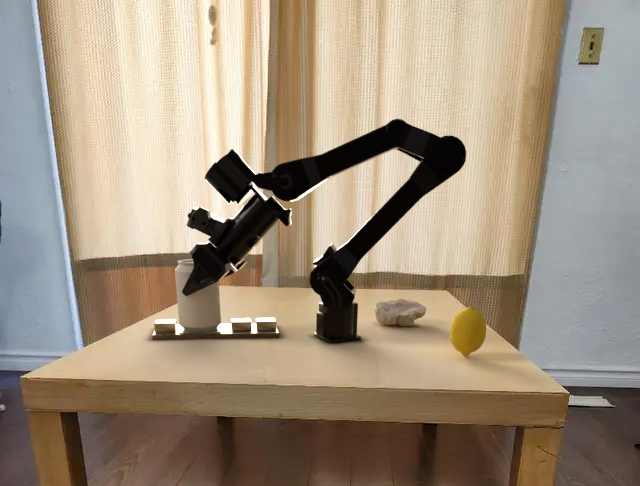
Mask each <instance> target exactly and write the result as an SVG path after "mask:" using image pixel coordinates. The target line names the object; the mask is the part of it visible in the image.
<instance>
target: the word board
mask: <svg viewBox="0 0 640 486" xmlns="http://www.w3.org/2000/svg"><path fill="white" fill-rule="evenodd" d="M177 321H178V320H177V319H176V318H167V319H166V318H165V319H164V318H163V319H162V318H161V319H160V318H159V319H157V318H156V319H155V321H154V323H153V326H154V327H153V329H154V330H153V333H152V335H151V339H152V340H155V341H156V340H205V339H206V340H207V339H209V340H210V339H243V338H244V339H250V338H251V339H255V338H257V339H258V338H260V339H261V338H280V332H279V330H278V327H277V320H276V318H275V317H256V318H255V322H253V321H252V319H251V317H243V318H242V317H234V318H233V317H231V318H230V323H221V324H220V325H219V326H218V327H217V328H216V329H214V330H210V331H188V330H185V329H184V328H183V327H182V326H180V325H179V323H178V322H177Z"/></svg>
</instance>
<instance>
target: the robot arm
mask: <svg viewBox="0 0 640 486" xmlns="http://www.w3.org/2000/svg"><path fill="white" fill-rule="evenodd" d="M394 150H396V151H399V152H401V153H403V154H405V155H406V156H408V157H410V158H412V159H414V160H416V161H417V164H416V166H415V168H413V170H412V172H411V174H410V175H409V177H408V178H407V180H406V181H404V183H403V184H402V185H401V186H399V188H398V189H397V190H395V192H394V193H393V194H392V195H391V196H390V197H389V198H388V199H387V200H386V201H385V203H384V204H382V205H381V207H380V208H378V209H377V210H376V211H375V213H374V214H373V215H372V216H371V217H370V218H369V219H368V220H367V221H366V222H365V223H364V224H363V225H362V226H361V227H360V228H359V229H358V230H357V231H356V232H355V233H354V235H352V237H350V239H349V240H348V241H346V242H345V243H344V244H342V245H341V246H339V247H338V248H336V246H335V245H334V243H332V242H331V244H330V245H328V247H327V249H326V250H325V251H324V253H323V254H322V255H321V256H320V257H317V258H316V259H315V260H314V261H312V265H313V266H314V267H313V268H312V269H311V271H310V274H309V284H310V285H309V286H310V287H311V289H312V290H313V292H314V293H315V294H317V295H318V296H319V297H320V300H321V302H318V311H317V312H316V314H315V315H316V317H315V318H316V320H315V322H316V323H315V332H314V333H313V336H314V337H316V338H319V339H321V340H323V341H326V342H328V343H339V342H340V343H341V342H348V341H357V340H362V338H363V337H362V335H359V334H358V318H359V317H358V314H359V303H358V302H356V301H354V300H355V298H356V291H357V289H356V287H355V286H354V285H353V284H352V283H351V281H350V280H349V278H350V277H351V275H352V274H353V272H354V271H355V269H356V267H357V266H358V264H360V261H361V260H362V259H363V258H364V257H365V256H366V255H367V254H368V253H369V252H370V251H371V250H372V249H373V248H374V247H375V246H376V245H377V244H378V243H379V242H380V241H381V240H382V239H383V238H384V237H385V236H386V235H387V234H388V232H389V231H390V230H391V229H392V228H394V227H395V226H396V225H397V223H399V221H400V220H401V219H402V218H404V217H405V215H406V214H407V213H408V212H409V211H411V209H412V208H413V207H414V206H416V204H417V203H418V202H420V200H421V199H422V198H423V197H425V196H426V195H428V194H429V193H430V192H432V191H434V190H435V189H437V187H439V186H441V185H442V184H443V183H445V182H446V181H448V180H449V179H450V178H452V177H453V176H454V175H455V174H457V173H459V172H460V171H461V169H462V168H463V167H464V166H465V163H466V160H467V150H466V146H465V144H464V142H463V141H462V139H460V138H459V137H457V136H455V135H442V136H439V135H437V134H434V133H432V132H430V131H427V130H425V129H423V128H420V127H417V126H414V125H412V124H409V123H407V122H406V121H405V120H403V119H402V118H394V119H391V120H389V122H388V123H386V124H384V125H382V126H380V127H377V128H376V129H374V130H371V131H369V132H367V133H364V134H363V135H361V136H357V137H356V138H354V139H351V140H350V141H347V142H344V143H342V144H341V145H338V146H336V147H333V148H332V149H329V150H328V151H325V152H323V153H321V154H317V155H313V156H307V157H303V158H298V159H297V158H296V159H294V160H290V161H286V162H285V161H284V162H282V163H279V164H277V165H276V166H275V167H274V168H273V169H272V170H271V171H269V172H260V171H259V172H258V173H256V172H255V171H254V170H253V169H252V168H251V167H250V166H249V165H248V164H247V162H246V161H245V160H244V159H243V157H242V156H241V155H240V153H239V152H238V151H237V150H236V149H234V148H231V149H230V150H229V151H228V152H227V154H224V155H223V156H222V157H220V158H219V160H218V161H215V162H214V163H213V164H212V165H211V166H210V167H209V168H208V170H207V172H206V174H205V176H204V180H205V181H206V182H207V183H208V184H209V185H210V186H211V187H212V189H214V191H215V192H217V194H218V195H219V196H220V197H221V198H222V199H223V200H224V201H225V202H226V203H227V204H228V205H229V206H231V205H233V204H234V203H235V204H236V205H237V206H240V205H242V204H243V203H244V202H245V201H246V200H247V199H248V198H249V197H250V196H251V195H252V193H254V194H253V195H252V196H251V197H250V198H249V199H248V201H247V202H246V203H245V204H244V205H243V206H242V207H241V208H240V209H239V211H238V212H237V213H236V214H235V215H234V216H233V217H228V218H226V219H223V218H222V217H220V216H218V215H216V214H214V213H213V212H211V210H210V209H206V208H204V206H195V207H194V206H193V207H192V209H191V211H190V212H188V214H187V219H188V220H187V222H186V227H188V228H190V229H191V230H196V231H198V232H200V233H202V234H204V235H206V236H208V241H209V242H203V241H202V242H198V243H196V244H195V245H194V246H193V247H192V249H191V250H190V251H189V254H190V256H191V259H193V263H194V268H193V270H192V272H191V274H190V276H189V278H188V280H187V282H186V284H185V286H184V288H183V290H182V293H183V294H184V295H185V296H188V295H190V294H193V293H195V292H197V291H199V290H201V289H203V288H205V287H208V286H210V285H212V284H214V283H216V282H218V281H219V282H220V281H222V280H223V279H225V278H226V277H227V278H228V277H229V276H231V275H233V274H235V273H237V272H238V271H240V270H242V269H243V268H244V266H245V265H247V263H248V262H249V258H248V254H250V252H252V250H253V249H254V248H256V247H257V246H258V245H260V244H261V241H262V239H263V238H264V237H265V236H266V235H267V234H268V233H269V232H270V231H271V230H272V229H273V228H274V226H275V225H276V224H277V223H278V222H279V221H280V222H281V223H282V224H283V225H284V226H285V227H290V226H291V225H292V212H293V209H292V208H284V207H283V205H281V204H280V202H279V201H278V200H281V201H283V202H295V201H299V200H301V199H302V198H304V197H306V196H307V195H308V194H310V193H311V192H313V191H314V190H316V189H317V188H319V186H321V185H322V184H323V183H325V182H326V181H329V179H331V178H333V177H335V176H338V175H339V174H341V173H344V172H346V171H349V170H351V169H353V168H356V167H357V166H359V165H362V164H364V163H367V162H369V161H371V160H373V159H376V158H378V157H380V156H383V155H385V154H387V153H389V152H391V151H394ZM260 189H261V190H266V191H271V193H272V194H273V195H272V196H270V197H266V195H264V194H263V193H262V191H261V190H260ZM274 196H275V197H276V198H277V199H278V200H277V199H276V198H275V197H274Z"/></svg>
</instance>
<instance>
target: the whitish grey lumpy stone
mask: <svg viewBox="0 0 640 486" xmlns="http://www.w3.org/2000/svg"><path fill="white" fill-rule="evenodd" d="M426 312H427V307H426V306H424V305H423V304H422V303H420V302H418V301H416V300H413V299H412V300H411V299H405V298H394V299H389V300H386V301H379V302H376V303H375V307H374V314H375V319H376V322H377V323H379V324H381V325H384V326H393V325H398V326H401V327H411V326H412V325H414V323H415V321H417V320H418V319H421V318H423V317H424V316H425V315H426Z"/></svg>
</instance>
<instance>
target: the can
mask: <svg viewBox="0 0 640 486" xmlns="http://www.w3.org/2000/svg"><path fill="white" fill-rule="evenodd" d="M177 264H178V265H177V266H176V268H175V269H174V277H175V286H176V287H175V289H176V300H177V302H176V303H177V310H178V311H177V312H178V324H179V325H180V326H182V327H183V328H184V329H185V330H188V331H210V330H214V329H216V328H217V327H218V326H219V325H220V324H222V315H221V314H222V313H221V312H222V311H221V296H220V281H218V282H216V283H214V284H212V285H210V286H208V287H205V288H203V289H201V290H199V291H197V292H195V293H193V294H190V295H188V296H185V295H184V294H183V293H182V290H183V288H184V286H185V284H186V282H187V280H188V278H189V276H190V274H191V272H192V270H193V268H194V263H193V259H192V258H191V259H189V258H188V259H187V258H186V259H180V260H177Z"/></svg>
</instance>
